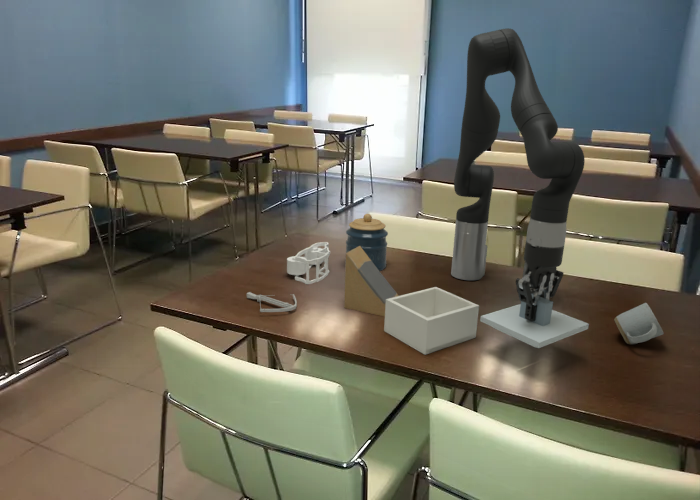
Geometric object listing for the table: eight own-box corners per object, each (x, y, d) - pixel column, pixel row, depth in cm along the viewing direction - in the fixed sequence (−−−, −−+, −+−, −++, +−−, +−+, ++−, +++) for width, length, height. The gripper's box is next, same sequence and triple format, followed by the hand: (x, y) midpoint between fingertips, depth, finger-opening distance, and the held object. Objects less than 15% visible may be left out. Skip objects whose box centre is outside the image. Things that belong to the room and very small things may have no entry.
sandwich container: (398, 320, 134) (402, 262, 130) (343, 308, 141) (345, 252, 136) (410, 308, 142) (414, 253, 138) (357, 297, 148) (359, 244, 144)
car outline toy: (311, 261, 177) (312, 239, 175) (342, 266, 173) (343, 244, 171) (280, 280, 159) (280, 256, 157) (314, 286, 155) (314, 262, 153)
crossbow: (309, 304, 143) (309, 297, 142) (276, 320, 133) (276, 312, 132) (264, 290, 152) (264, 284, 151) (230, 304, 142) (230, 297, 141)
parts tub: (433, 316, 137) (435, 286, 135) (475, 337, 126) (479, 305, 124) (384, 330, 128) (385, 299, 126) (425, 354, 117) (427, 320, 115)
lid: (528, 310, 128) (532, 280, 126) (587, 334, 116) (592, 301, 114) (479, 326, 118) (483, 294, 116) (537, 353, 107) (542, 319, 105)
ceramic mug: (626, 345, 128) (611, 315, 130) (663, 333, 125) (647, 302, 127) (627, 348, 119) (611, 314, 121) (666, 334, 116) (649, 301, 118)
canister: (387, 276, 165) (390, 219, 160) (344, 274, 166) (346, 218, 160) (385, 262, 178) (387, 209, 173) (345, 261, 178) (347, 208, 173)
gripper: (550, 232, 119) (539, 306, 123) (508, 240, 111) (499, 319, 116) (581, 240, 113) (568, 317, 118) (539, 250, 105) (528, 332, 110)
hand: (534, 318), depth 117 cm, fingers closed on lid, 2 cm apart
